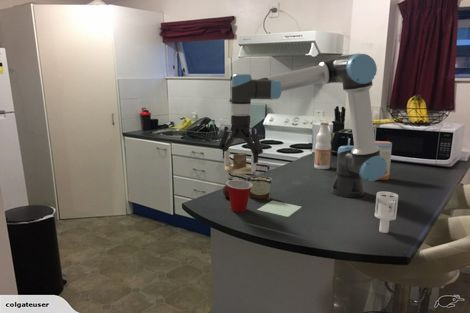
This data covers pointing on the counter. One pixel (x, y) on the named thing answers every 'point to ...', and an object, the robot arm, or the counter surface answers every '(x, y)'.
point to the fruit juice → (323, 147)
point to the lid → (239, 165)
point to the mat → (279, 208)
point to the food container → (260, 186)
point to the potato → (226, 191)
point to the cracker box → (385, 156)
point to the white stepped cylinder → (386, 209)
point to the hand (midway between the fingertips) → (239, 168)
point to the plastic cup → (239, 194)
